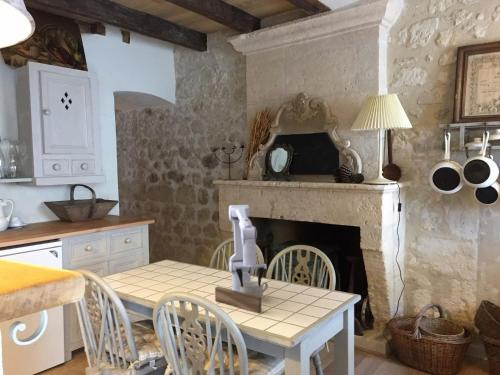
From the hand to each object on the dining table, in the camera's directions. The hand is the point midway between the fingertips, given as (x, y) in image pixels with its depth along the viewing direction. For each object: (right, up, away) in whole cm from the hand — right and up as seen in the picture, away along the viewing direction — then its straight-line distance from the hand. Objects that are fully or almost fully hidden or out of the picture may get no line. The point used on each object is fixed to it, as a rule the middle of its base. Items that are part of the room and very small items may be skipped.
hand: (250, 286), depth 173 cm
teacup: (+2, -10, +15) cm, 18 cm away
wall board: (-6, -10, +5) cm, 13 cm away
